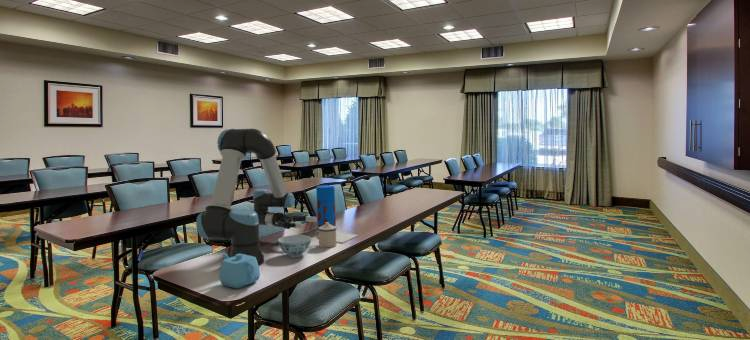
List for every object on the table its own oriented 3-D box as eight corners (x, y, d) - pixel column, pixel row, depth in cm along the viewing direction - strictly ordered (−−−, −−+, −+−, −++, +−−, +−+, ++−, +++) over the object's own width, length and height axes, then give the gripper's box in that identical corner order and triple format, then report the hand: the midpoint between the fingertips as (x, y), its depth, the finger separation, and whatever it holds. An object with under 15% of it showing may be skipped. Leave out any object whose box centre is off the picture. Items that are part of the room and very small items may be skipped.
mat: (343, 243, 211) (343, 242, 211) (320, 240, 217) (320, 239, 216) (357, 236, 225) (357, 234, 225) (335, 233, 231) (335, 232, 231)
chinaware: (309, 259, 184) (308, 242, 184) (275, 260, 184) (274, 243, 184) (313, 250, 199) (313, 234, 199) (282, 250, 199) (282, 235, 199)
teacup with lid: (340, 244, 209) (339, 221, 208) (329, 248, 201) (328, 225, 200) (321, 241, 215) (320, 219, 214) (310, 245, 207) (309, 223, 206)
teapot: (236, 274, 167) (235, 246, 166) (266, 282, 157) (265, 253, 156) (209, 283, 157) (207, 254, 156) (239, 293, 147) (238, 262, 146)
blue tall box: (329, 225, 253) (328, 184, 250) (339, 228, 244) (338, 186, 242) (314, 228, 246) (312, 186, 243) (323, 231, 237) (322, 188, 235)
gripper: (290, 221, 233) (322, 224, 224) (260, 231, 210) (294, 235, 201) (289, 208, 232) (321, 210, 223) (259, 217, 209) (294, 220, 200)
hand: (309, 222), depth 212 cm, fingers open, 13 cm apart
